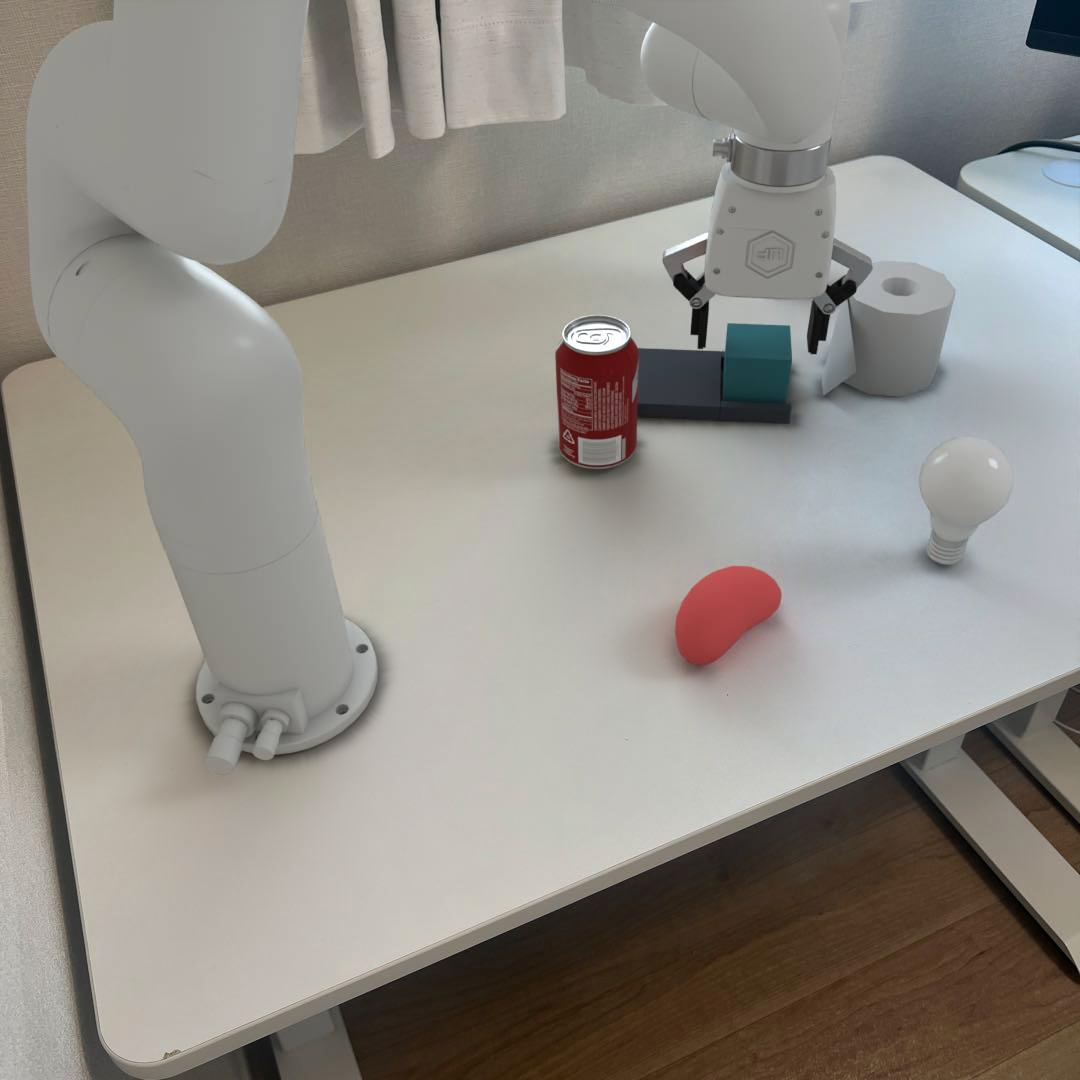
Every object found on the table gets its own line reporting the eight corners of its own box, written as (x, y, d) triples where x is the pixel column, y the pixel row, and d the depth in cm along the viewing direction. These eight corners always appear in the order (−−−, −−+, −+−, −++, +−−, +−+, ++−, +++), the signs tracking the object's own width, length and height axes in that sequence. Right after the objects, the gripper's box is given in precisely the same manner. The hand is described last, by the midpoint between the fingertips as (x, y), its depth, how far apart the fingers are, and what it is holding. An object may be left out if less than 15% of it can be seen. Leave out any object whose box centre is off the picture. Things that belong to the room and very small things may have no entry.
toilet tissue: (806, 402, 100) (818, 320, 94) (852, 331, 108) (866, 252, 103) (905, 429, 97) (924, 346, 91) (945, 354, 105) (965, 273, 99)
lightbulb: (883, 544, 86) (910, 431, 79) (952, 522, 88) (985, 410, 80) (932, 597, 82) (965, 483, 74) (1003, 574, 83) (1043, 460, 76)
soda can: (630, 479, 93) (632, 359, 85) (552, 471, 94) (547, 352, 86) (641, 431, 98) (644, 313, 90) (566, 424, 99) (563, 307, 91)
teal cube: (784, 412, 99) (792, 359, 95) (722, 409, 100) (726, 357, 96) (783, 376, 103) (790, 325, 99) (722, 374, 104) (727, 322, 100)
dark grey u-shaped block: (789, 423, 98) (791, 410, 97) (588, 414, 100) (588, 401, 99) (786, 366, 104) (787, 353, 103) (597, 359, 107) (597, 346, 106)
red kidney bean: (652, 632, 82) (649, 612, 76) (744, 556, 83) (748, 531, 77) (698, 685, 80) (698, 669, 74) (792, 608, 81) (799, 585, 75)
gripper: (666, 172, 84) (656, 362, 96) (898, 179, 82) (859, 372, 94) (670, 133, 90) (660, 317, 101) (887, 139, 88) (852, 325, 99)
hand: (756, 343), depth 98 cm, fingers open, 9 cm apart
